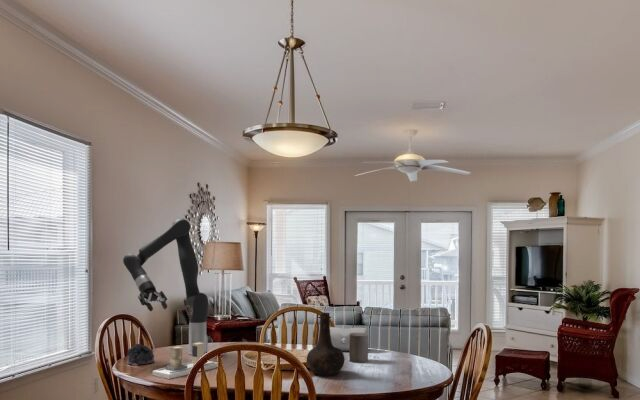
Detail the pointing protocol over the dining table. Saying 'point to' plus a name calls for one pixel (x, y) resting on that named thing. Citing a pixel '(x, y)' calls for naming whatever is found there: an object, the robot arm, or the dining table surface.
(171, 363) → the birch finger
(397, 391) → the dining table surface
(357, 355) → the pillar candle
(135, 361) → the crystal cluster
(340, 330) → the tank
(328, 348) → the dark brown vase
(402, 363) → the dining table surface
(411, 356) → the dining table surface
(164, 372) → the board
